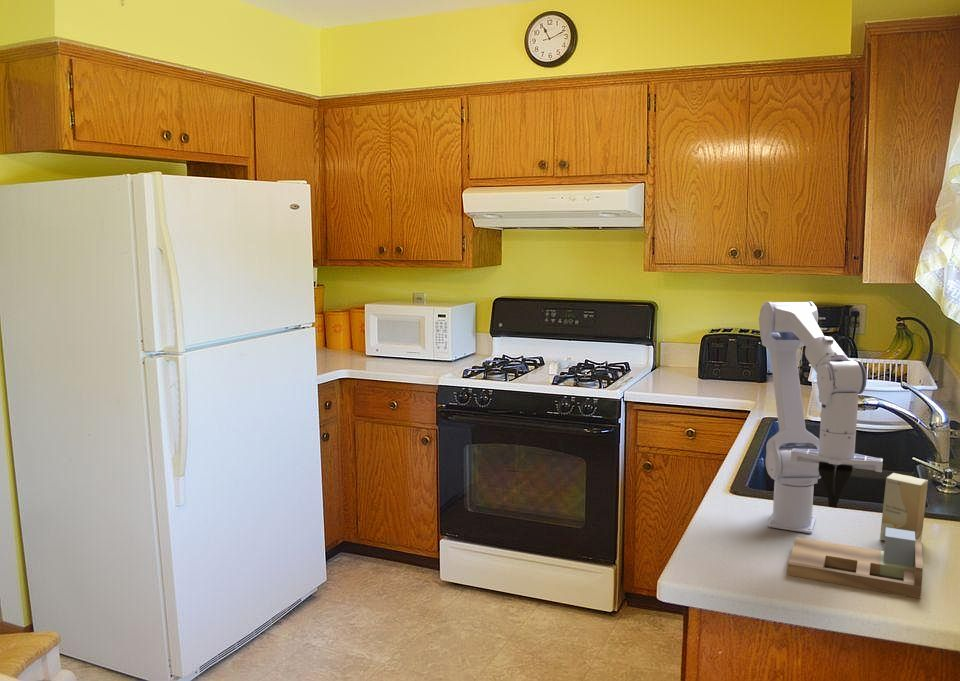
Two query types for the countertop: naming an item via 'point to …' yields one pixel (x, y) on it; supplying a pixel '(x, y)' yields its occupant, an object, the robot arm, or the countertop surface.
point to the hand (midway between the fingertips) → (833, 505)
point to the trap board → (855, 567)
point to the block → (899, 546)
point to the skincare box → (904, 504)
